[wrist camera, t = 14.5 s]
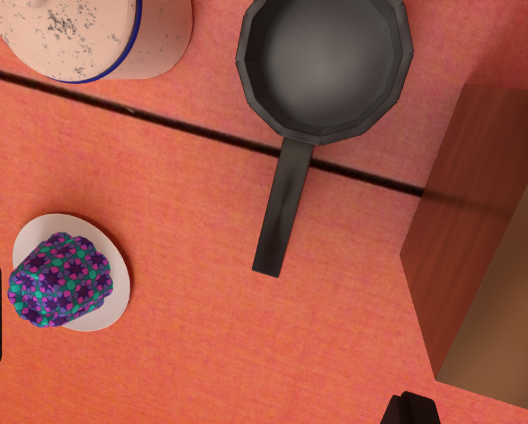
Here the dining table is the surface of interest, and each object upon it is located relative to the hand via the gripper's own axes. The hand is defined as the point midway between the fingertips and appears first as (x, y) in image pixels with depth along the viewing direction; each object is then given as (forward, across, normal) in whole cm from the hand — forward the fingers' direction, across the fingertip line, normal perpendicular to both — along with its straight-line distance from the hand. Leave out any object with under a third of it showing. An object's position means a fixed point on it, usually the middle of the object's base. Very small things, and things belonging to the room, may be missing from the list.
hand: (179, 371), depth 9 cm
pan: (+23, 0, -3) cm, 23 cm away
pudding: (+24, +18, +15) cm, 33 cm away
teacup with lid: (+24, +16, -8) cm, 29 cm away
